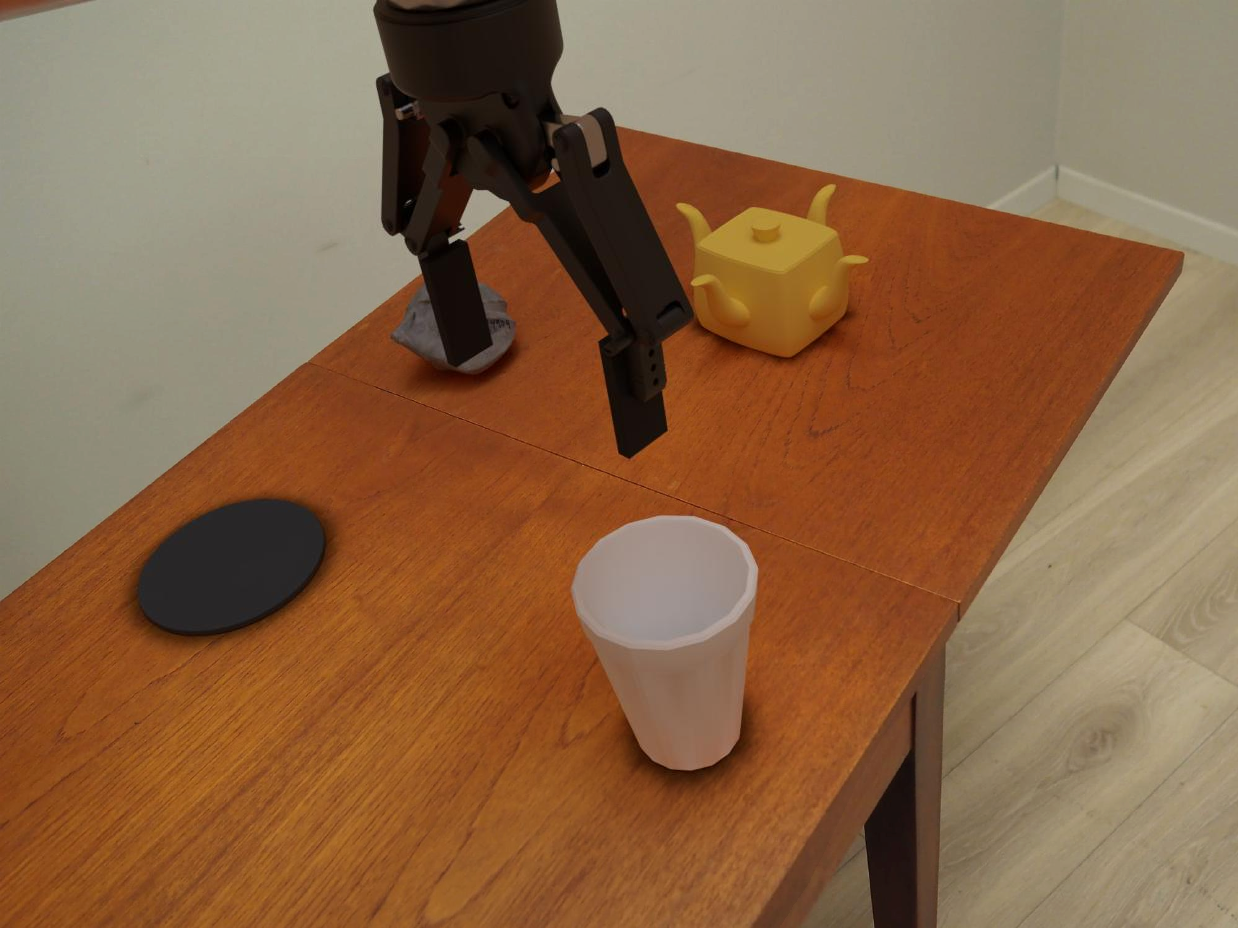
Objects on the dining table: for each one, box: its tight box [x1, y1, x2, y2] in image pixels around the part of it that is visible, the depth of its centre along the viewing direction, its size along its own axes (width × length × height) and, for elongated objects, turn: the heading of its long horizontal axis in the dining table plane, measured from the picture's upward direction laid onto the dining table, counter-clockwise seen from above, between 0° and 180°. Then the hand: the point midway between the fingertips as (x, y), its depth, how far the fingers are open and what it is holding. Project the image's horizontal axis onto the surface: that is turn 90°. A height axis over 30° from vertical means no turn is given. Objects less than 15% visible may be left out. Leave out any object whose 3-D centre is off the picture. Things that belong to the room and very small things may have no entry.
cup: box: [570, 514, 759, 771], centre depth 66 cm, size 10×10×13 cm
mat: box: [136, 498, 326, 636], centre depth 88 cm, size 14×14×1 cm
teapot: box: [675, 183, 869, 358], centre depth 100 cm, size 15×14×10 cm
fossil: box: [390, 281, 517, 376], centre depth 102 cm, size 11×9×8 cm
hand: (551, 395), depth 61 cm, fingers open, 13 cm apart
